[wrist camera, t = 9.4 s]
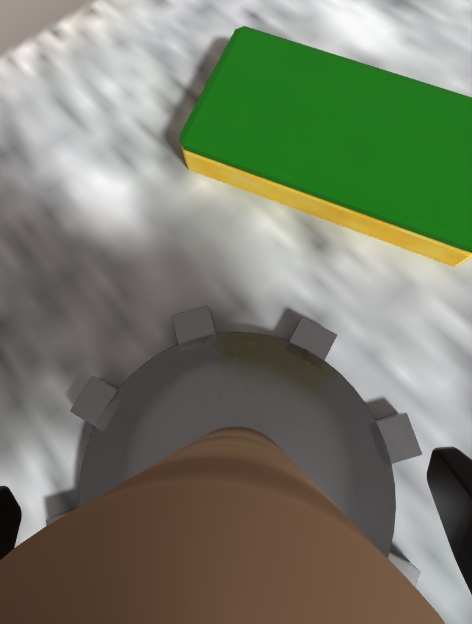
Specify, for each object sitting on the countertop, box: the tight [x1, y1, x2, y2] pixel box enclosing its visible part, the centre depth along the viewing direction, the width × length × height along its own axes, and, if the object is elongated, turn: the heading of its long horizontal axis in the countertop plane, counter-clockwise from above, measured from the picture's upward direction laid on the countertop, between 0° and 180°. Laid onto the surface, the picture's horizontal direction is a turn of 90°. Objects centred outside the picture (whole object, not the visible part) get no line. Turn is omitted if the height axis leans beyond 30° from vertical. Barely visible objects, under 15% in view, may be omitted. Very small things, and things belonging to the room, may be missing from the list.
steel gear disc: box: [46, 306, 422, 587], centre depth 16 cm, size 14×14×1 cm
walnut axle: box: [0, 426, 445, 624], centre depth 9 cm, size 4×4×13 cm
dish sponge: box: [179, 26, 472, 267], centre depth 19 cm, size 7×14×2 cm, turn 67°
